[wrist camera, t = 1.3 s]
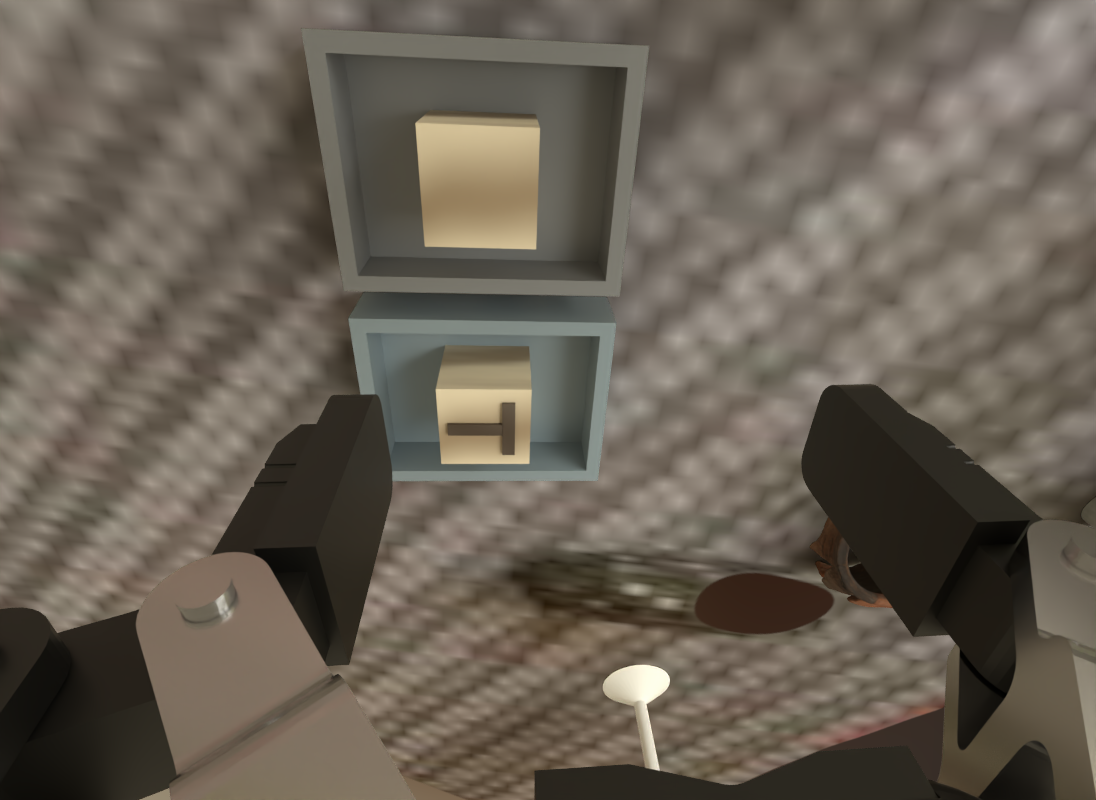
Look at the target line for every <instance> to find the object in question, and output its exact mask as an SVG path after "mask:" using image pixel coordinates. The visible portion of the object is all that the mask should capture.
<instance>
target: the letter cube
mask: <svg viewBox="0 0 1096 800" xmlns="http://www.w3.org/2000/svg"><path fill="white" fill-rule="evenodd" d="M531 396H532V387H531V369H530V351H529V346H475V345H445V349H444V353H443V358H442V363H441V367H440V372H439V376H438V381H437V385H436V400H437V413H438V426H439V439H440V452H441V464H529V459H530V427H531Z"/></svg>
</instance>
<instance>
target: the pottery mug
mask: <svg viewBox="0 0 1096 800" xmlns="http://www.w3.org/2000/svg"><path fill="white" fill-rule="evenodd" d="M810 548H811V549H812V550H814V551H815V552H816V553H817V554H818V555H819V556H821V557H822V558H824V559H825V560H826V561H828V562H829V563H830V564H831V565H832V566H830V565H827V564H825V563H822V562H820V561H817V562H816V566H817V568H818V570H819V573H820V575H821V576H822V577H823V579H822V582H823V583H824V584H825V585H826V586H827V587H828V588H829V589H833V590H836V591H839V592H841V593H845V594H848V595H851V596H850V597H848V598H847V599H848V601H849V602H852V603H855V604H858V605H861V606H867V607H888V608H893V607H892V606H891V604H890V603H889V602H888V600H887V599H886V597H885V596H884V595H883V593H882V592H881V590H880V589H879V588H878V586H877V585H876V583H875V582H874V580H873V579H872V578H871V576H870V575H869V573H868V572H867V571H866V569H865V568H864V566H863V565H862V564H861V563H860V564H857V565H855V566H853V567H848V553H849V548H850V547H849V545H848V544H847V542H846V541H845V539H844V538H843V537H842V535H841V534H840V532H839V531H838V530H837V528H836V527H835V525H834V524H833V523H832V521H831V520H830V518H829V517H828V519H827V521H826V523H825V526H824V529H823V531H822V534H821V536H820V537H819V538H818V540H817V541H815V542H813V543H812V544H811V545H810Z"/></svg>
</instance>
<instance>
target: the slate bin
mask: <svg viewBox="0 0 1096 800" xmlns="http://www.w3.org/2000/svg"><path fill="white" fill-rule="evenodd" d="M348 320H349V327H350V333H351V339H352V345H353V351H354V357H355V364H356V370H357V376H358V382H359V388H360V394H361V395H364V394H377V395H378V396H379V398H380V401H381V405H382V410H383V416H384V422H385V428H386V434H387V440H388V446H389V452H390V458H391V465H392V481H598V474H599V466H600V457H601V449H602V440H603V432H604V424H605V415H606V407H607V398H608V390H609V381H610V373H611V365H612V356H613V348H614V339H615V331H616V320H615V318H614V315H613V312H612V310H611V307H610V304H609V301H608V299H607V297H583V296H532V295H482V294H431V293H381V292H364V293H363V294H362V296H361V298H360V299H359V301H358V303H357V304H356V306H355V308H354V310H353V311H352V313H351V315H350V316H349V318H348ZM445 345H475V346H529V351H530V369H531V387H532V396H531V427H530V459H529V464H441V452H440V439H439V426H438V413H437V400H436V385H437V381H438V376H439V372H440V367H441V363H442V358H443V353H444V349H445Z"/></svg>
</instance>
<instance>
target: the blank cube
mask: <svg viewBox="0 0 1096 800" xmlns="http://www.w3.org/2000/svg"><path fill="white" fill-rule="evenodd" d="M415 126H416V139H417V152H418V165H419V178H420V191H421V204H422V217H423V230H424V243H425V247H462V248H501V249H536V238H537V207H538V176H539V144H540V126H539V123H538V120H537V117H536V114H516V113H492V112H468V111H444V110H430V111H429V112H428V113H426V114H425V115H424V116H423V117H422V118H421V119H419V120H418V121H417V122H416V123H415Z"/></svg>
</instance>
